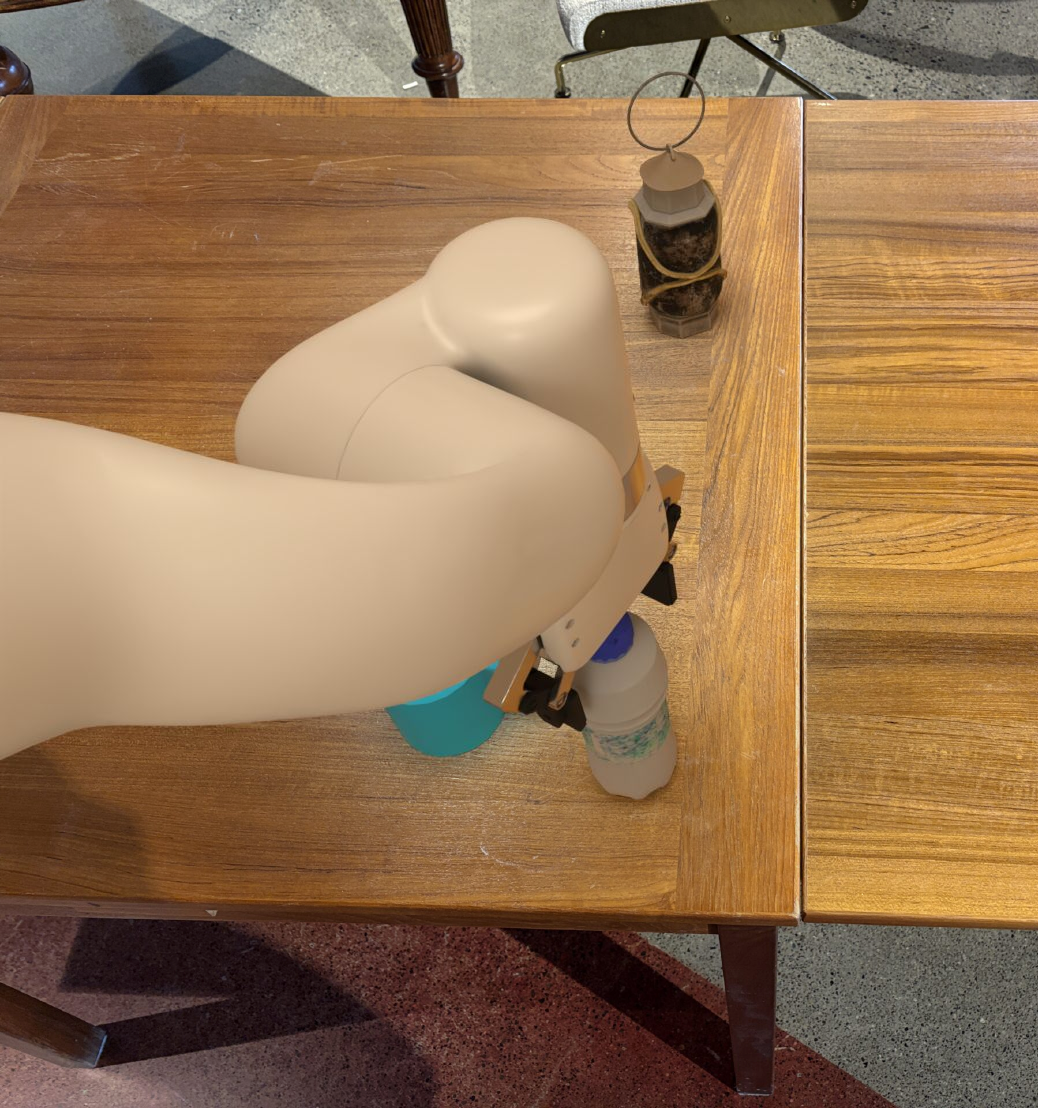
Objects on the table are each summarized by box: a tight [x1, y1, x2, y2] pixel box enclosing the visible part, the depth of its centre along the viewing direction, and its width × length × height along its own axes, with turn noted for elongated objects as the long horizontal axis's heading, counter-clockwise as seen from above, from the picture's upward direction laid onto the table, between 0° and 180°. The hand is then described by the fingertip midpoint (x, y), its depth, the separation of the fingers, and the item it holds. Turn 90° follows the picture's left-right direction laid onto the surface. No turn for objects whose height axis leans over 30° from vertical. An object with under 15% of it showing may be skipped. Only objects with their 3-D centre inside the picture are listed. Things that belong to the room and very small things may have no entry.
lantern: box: [626, 70, 728, 339], centre depth 94 cm, size 9×8×25 cm
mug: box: [384, 660, 539, 758], centre depth 77 cm, size 12×8×8 cm
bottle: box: [571, 610, 679, 801], centre depth 69 cm, size 7×7×20 cm
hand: (609, 653), depth 64 cm, fingers open, 9 cm apart
